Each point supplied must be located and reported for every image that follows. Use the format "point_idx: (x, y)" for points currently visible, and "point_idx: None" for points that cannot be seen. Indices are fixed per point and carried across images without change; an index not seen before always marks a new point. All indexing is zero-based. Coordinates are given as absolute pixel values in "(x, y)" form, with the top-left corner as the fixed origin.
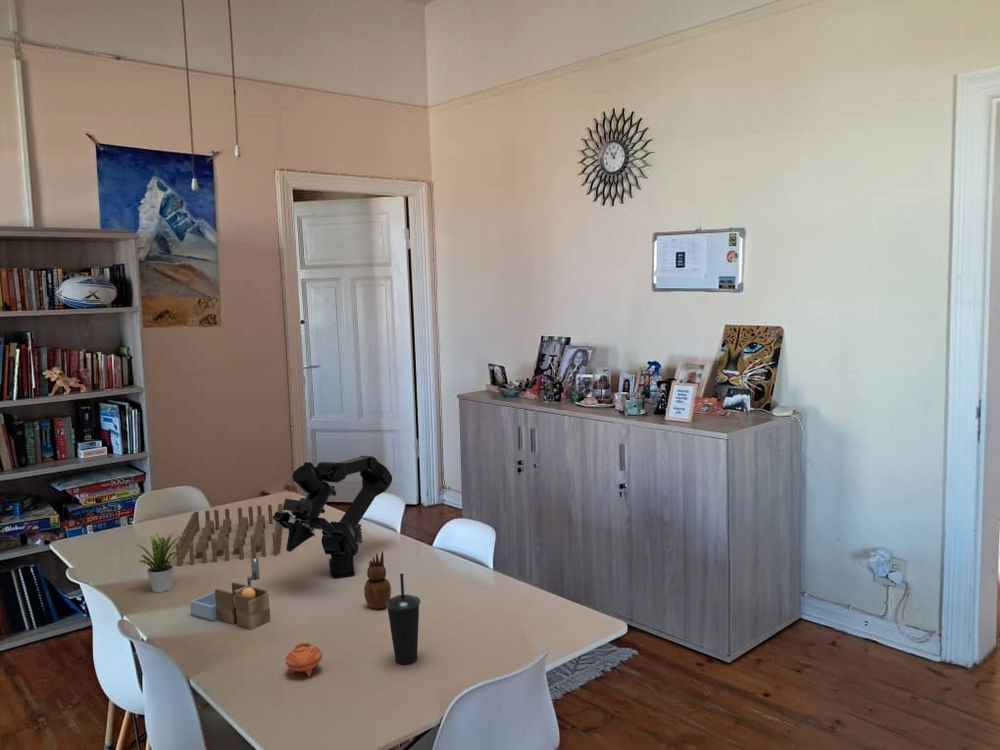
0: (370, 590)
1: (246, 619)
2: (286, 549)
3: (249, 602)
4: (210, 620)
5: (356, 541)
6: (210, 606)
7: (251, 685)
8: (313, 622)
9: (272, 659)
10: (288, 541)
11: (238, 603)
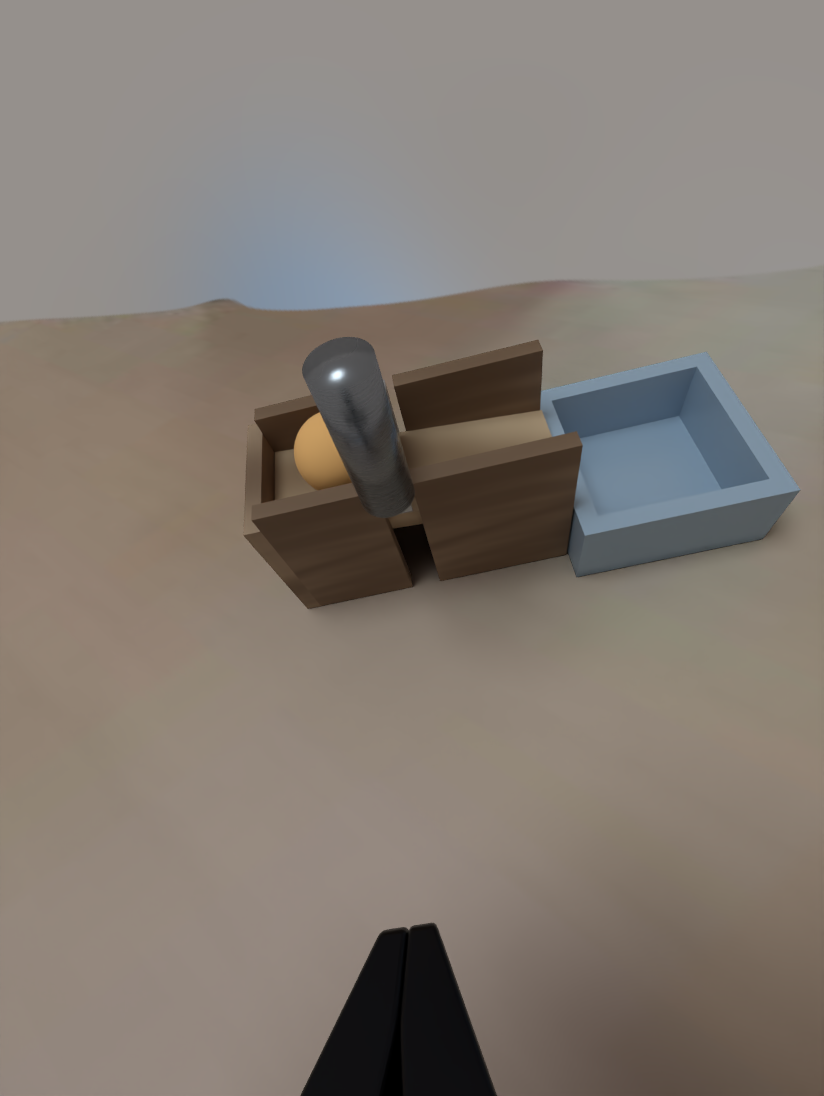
0: None
1: None
2: (428, 924)
3: (250, 426)
4: None
5: None
6: (547, 393)
7: (27, 380)
8: (99, 739)
9: (60, 466)
10: (453, 1089)
11: None
